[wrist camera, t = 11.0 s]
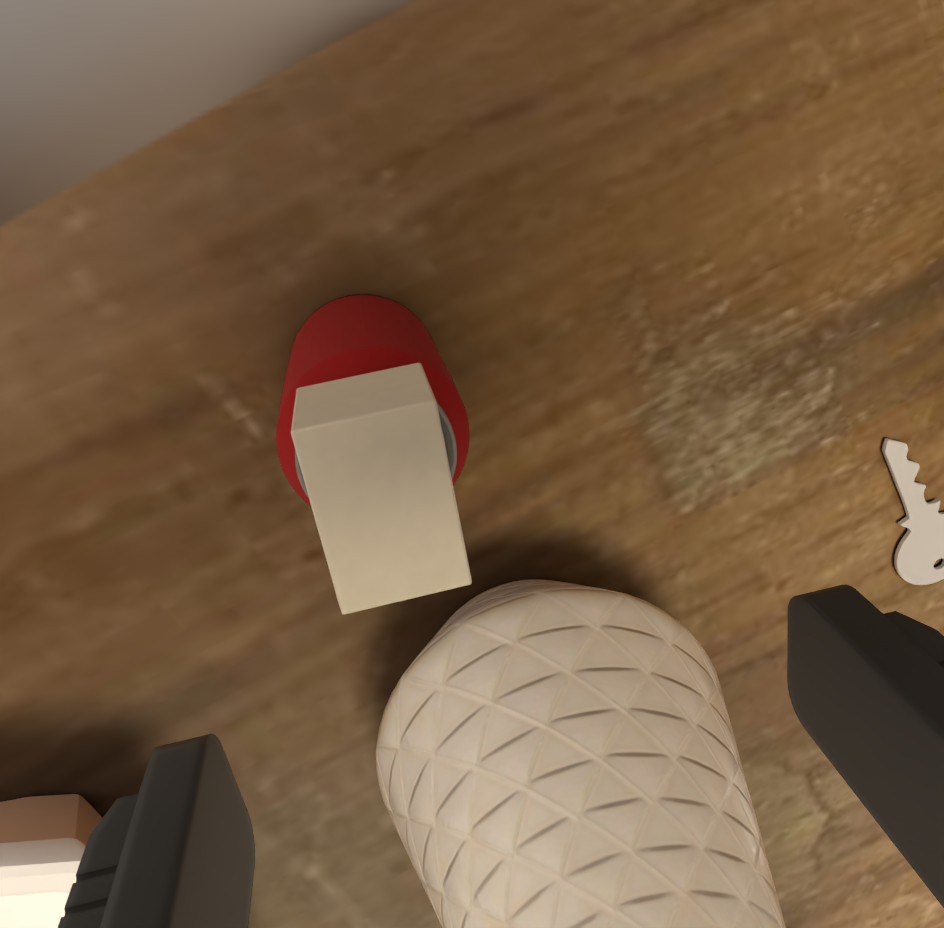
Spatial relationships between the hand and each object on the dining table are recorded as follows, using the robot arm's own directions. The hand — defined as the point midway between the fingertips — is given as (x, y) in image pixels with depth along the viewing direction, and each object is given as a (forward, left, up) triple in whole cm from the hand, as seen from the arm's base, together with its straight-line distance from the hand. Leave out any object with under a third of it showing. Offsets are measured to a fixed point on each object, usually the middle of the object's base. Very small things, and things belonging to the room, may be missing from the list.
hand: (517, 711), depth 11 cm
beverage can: (+2, -2, -28) cm, 28 cm away
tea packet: (+2, -2, -16) cm, 16 cm away
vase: (+21, +3, -28) cm, 35 cm away
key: (+17, +27, -28) cm, 43 cm away
